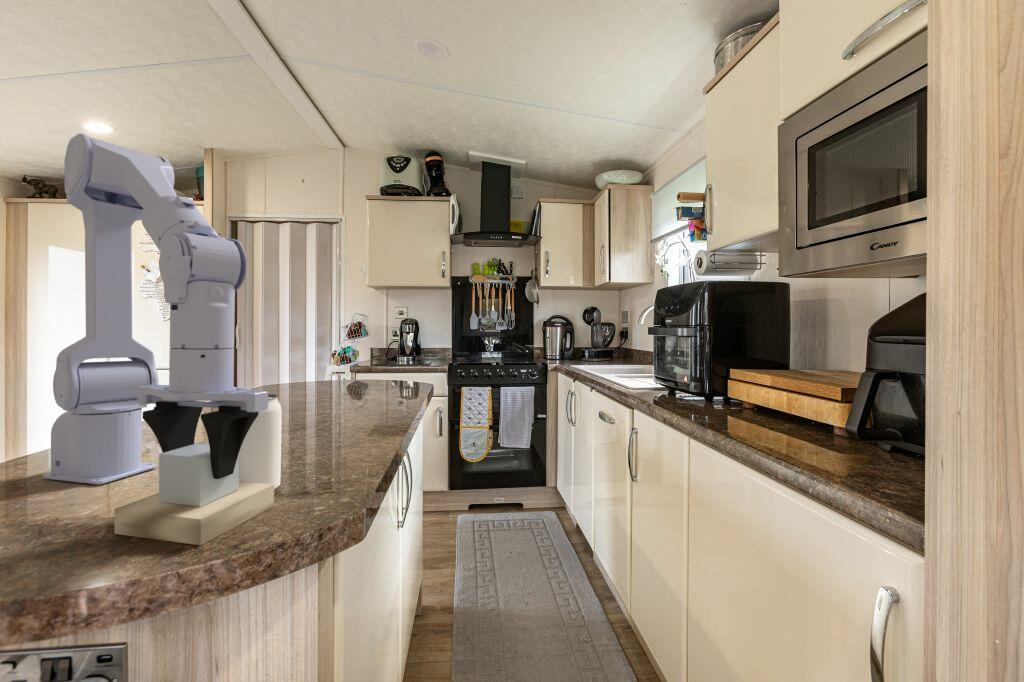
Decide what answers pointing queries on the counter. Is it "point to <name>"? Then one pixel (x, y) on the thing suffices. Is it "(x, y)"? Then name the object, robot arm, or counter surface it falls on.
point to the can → (263, 447)
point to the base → (193, 515)
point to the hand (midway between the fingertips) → (201, 473)
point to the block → (192, 477)
